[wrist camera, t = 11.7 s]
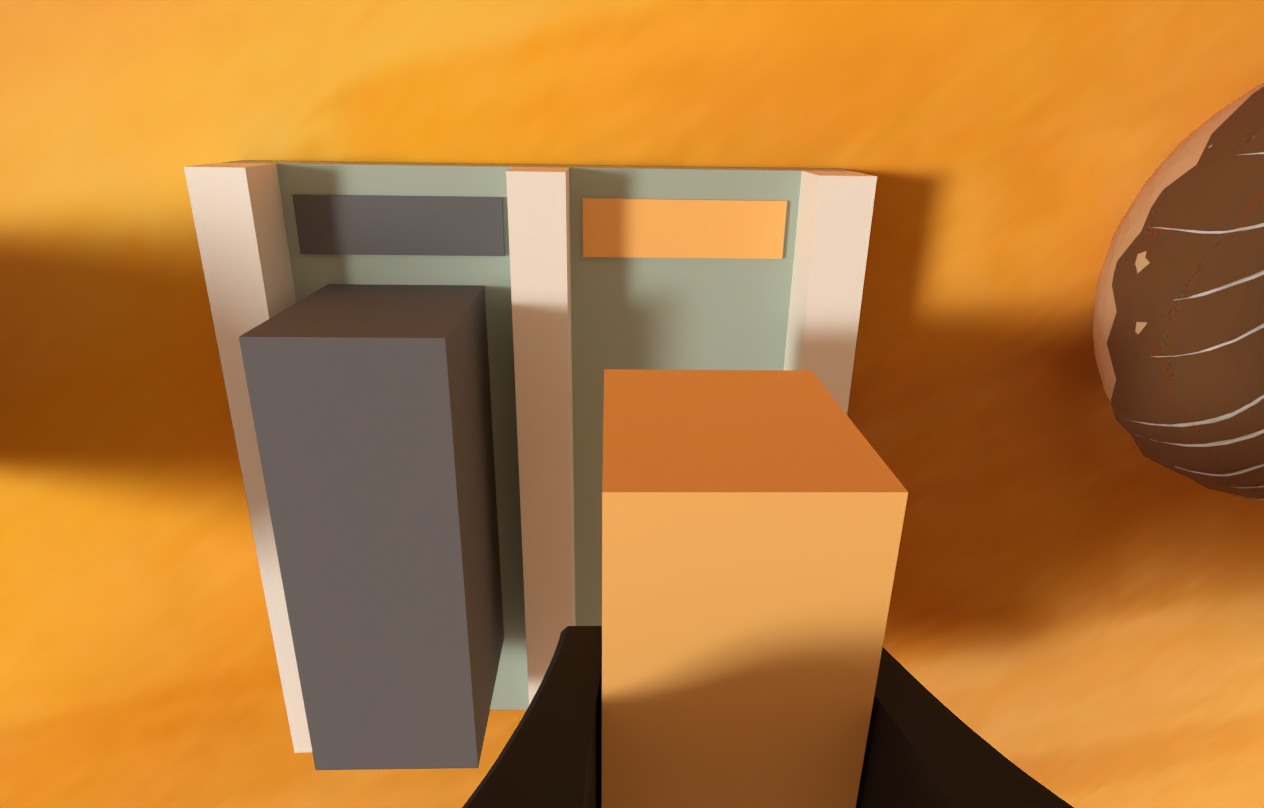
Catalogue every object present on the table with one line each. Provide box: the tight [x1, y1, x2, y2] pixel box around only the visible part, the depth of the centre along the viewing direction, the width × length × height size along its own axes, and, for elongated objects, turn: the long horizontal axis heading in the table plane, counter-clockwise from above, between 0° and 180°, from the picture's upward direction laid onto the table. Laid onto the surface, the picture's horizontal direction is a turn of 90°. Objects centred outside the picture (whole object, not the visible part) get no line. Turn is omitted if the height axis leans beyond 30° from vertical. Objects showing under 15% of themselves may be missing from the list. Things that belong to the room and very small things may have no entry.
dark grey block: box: [239, 284, 504, 770], centre depth 17 cm, size 10×4×4 cm, turn 179°
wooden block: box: [602, 369, 908, 808], centre depth 13 cm, size 10×4×4 cm, turn 179°
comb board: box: [184, 160, 877, 752], centre depth 19 cm, size 15×14×2 cm
